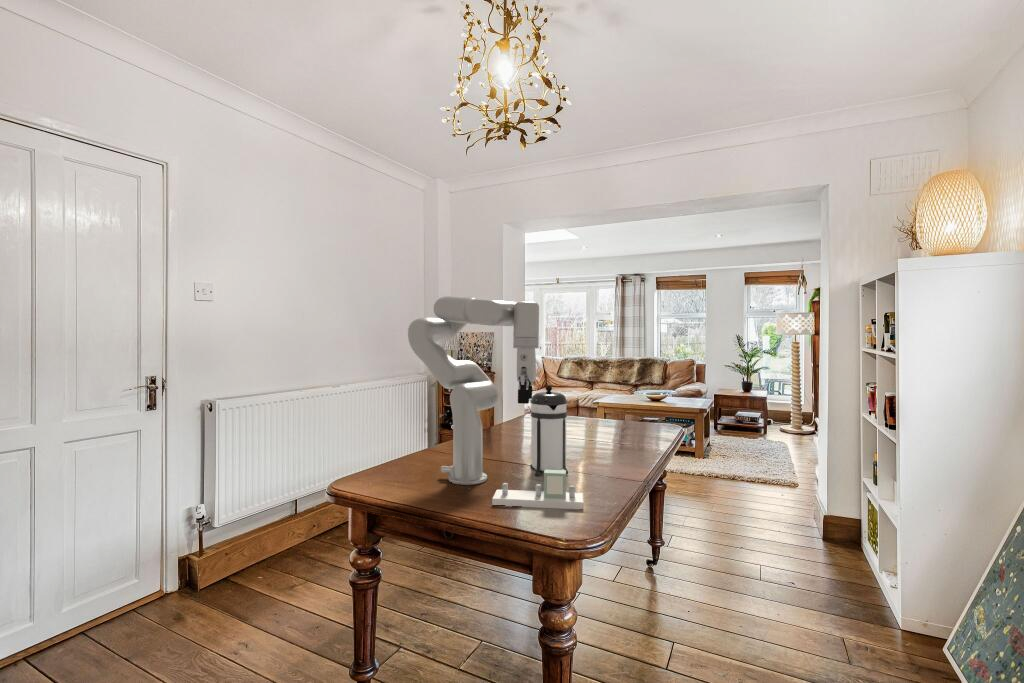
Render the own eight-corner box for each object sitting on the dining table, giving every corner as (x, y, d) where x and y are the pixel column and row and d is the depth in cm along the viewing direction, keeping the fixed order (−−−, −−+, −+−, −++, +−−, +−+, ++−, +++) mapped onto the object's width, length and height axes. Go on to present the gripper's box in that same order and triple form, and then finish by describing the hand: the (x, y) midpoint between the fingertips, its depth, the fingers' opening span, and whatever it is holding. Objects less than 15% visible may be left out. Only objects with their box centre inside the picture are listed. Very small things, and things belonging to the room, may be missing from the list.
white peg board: (492, 505, 139) (492, 487, 139) (496, 496, 147) (496, 479, 147) (583, 509, 136) (583, 491, 136) (582, 499, 144) (582, 482, 144)
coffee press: (580, 470, 174) (580, 384, 174) (552, 480, 162) (553, 388, 162) (541, 461, 186) (541, 381, 185) (513, 470, 174) (513, 384, 173)
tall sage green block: (543, 498, 139) (544, 473, 139) (544, 493, 143) (544, 469, 143) (565, 498, 139) (565, 473, 138) (565, 494, 142) (565, 470, 142)
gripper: (536, 344, 139) (535, 405, 139) (540, 342, 156) (539, 397, 156) (509, 344, 140) (508, 405, 140) (516, 342, 157) (516, 396, 157)
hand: (525, 400), depth 148 cm, fingers open, 9 cm apart
